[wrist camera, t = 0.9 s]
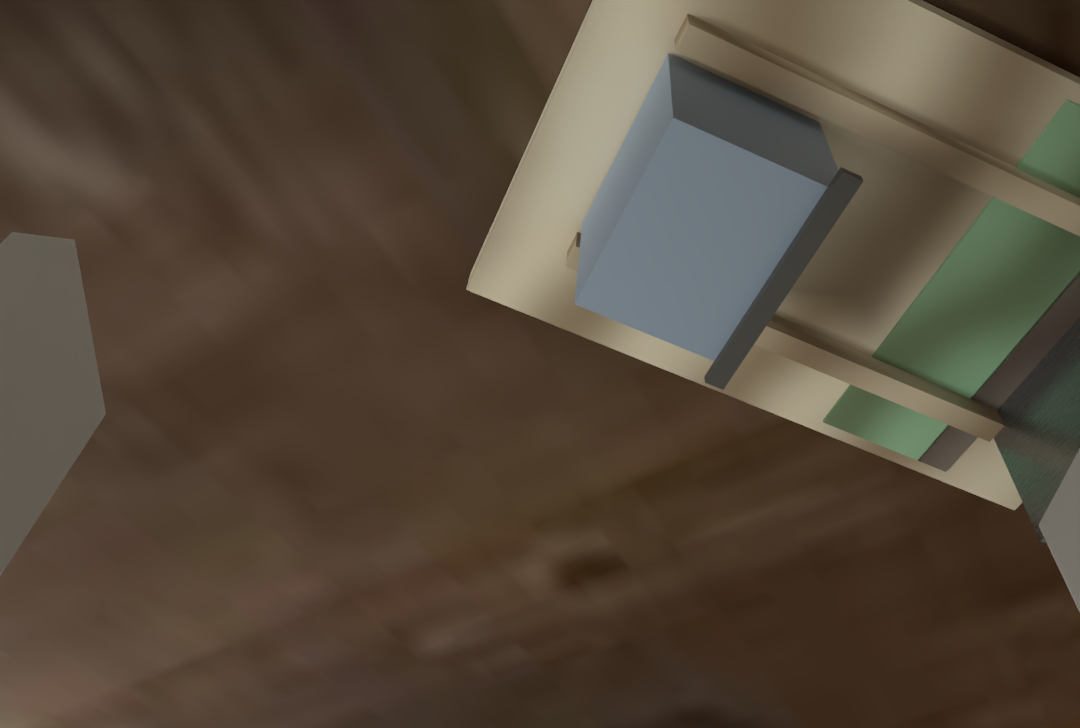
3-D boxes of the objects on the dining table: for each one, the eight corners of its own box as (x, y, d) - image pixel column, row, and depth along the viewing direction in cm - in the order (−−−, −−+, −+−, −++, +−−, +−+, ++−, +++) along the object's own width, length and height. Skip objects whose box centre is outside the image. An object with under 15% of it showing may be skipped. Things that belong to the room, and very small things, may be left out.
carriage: (574, 238, 33) (565, 326, 29) (677, 34, 29) (684, 100, 25) (712, 296, 34) (723, 389, 30) (830, 105, 30) (863, 181, 26)
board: (470, 272, 36) (462, 305, 34) (652, -133, 28) (653, -118, 26) (1005, 489, 39) (1022, 529, 38) (1294, 182, 32) (1333, 214, 30)
